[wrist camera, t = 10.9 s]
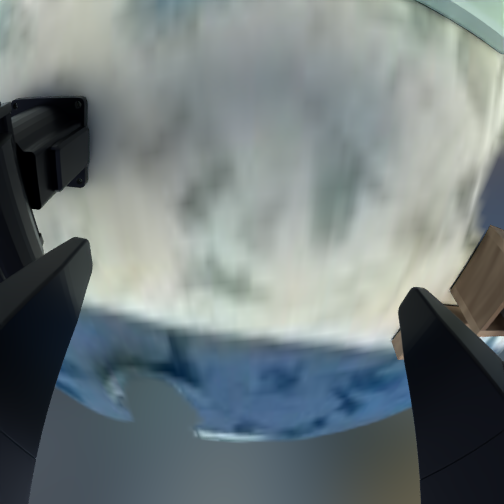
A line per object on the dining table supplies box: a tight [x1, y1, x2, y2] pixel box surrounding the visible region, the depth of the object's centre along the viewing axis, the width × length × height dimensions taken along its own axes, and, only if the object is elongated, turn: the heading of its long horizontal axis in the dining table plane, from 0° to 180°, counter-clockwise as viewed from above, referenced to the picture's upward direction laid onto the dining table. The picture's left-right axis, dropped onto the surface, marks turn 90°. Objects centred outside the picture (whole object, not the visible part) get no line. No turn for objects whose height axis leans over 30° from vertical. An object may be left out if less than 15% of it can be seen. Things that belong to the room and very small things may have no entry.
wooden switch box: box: [392, 305, 471, 360], centre depth 29 cm, size 8×6×3 cm
